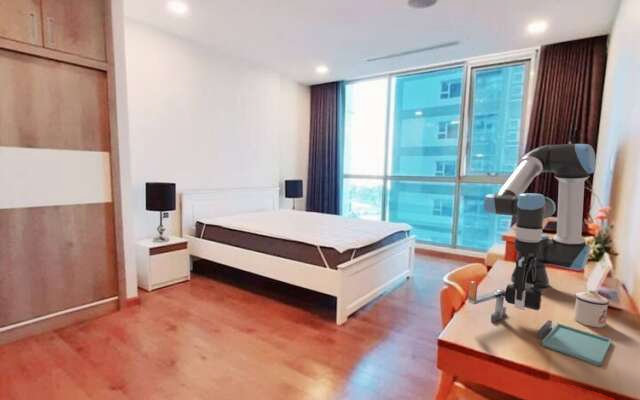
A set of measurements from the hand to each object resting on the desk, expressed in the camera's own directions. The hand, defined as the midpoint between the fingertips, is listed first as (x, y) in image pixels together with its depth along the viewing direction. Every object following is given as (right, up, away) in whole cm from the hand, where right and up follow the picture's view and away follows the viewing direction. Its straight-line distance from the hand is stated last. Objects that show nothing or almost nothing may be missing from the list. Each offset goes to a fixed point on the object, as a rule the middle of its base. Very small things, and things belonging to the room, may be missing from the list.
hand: (523, 305), depth 114 cm
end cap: (0, -1, 0) cm, 1 cm away
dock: (-1, -7, 0) cm, 7 cm away
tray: (+9, -8, -12) cm, 17 cm away
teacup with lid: (+26, -7, +5) cm, 28 cm away
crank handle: (-12, +1, +1) cm, 12 cm away
